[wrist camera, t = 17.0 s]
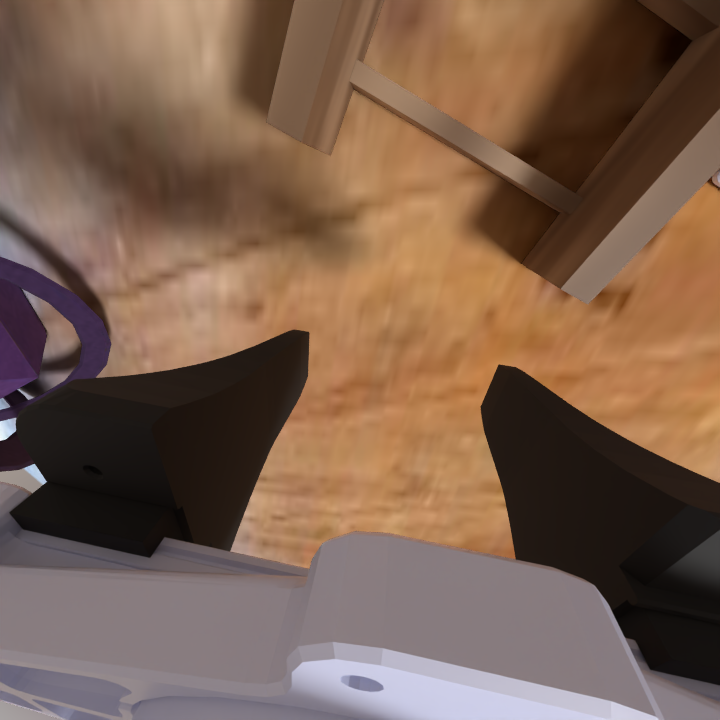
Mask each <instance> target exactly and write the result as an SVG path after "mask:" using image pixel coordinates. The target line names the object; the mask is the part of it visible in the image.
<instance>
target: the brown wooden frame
mask: <svg viewBox="0 0 720 720" xmlns="http://www.w3.org/2000/svg"><path fill="white" fill-rule="evenodd" d="M637 1H638V2H640V3H641V4H642V5H644V6H645V7H646V8H648V9H649V10H651V11H652V12H653V13H655V14H656V15H658V16H659V17H660V18H662V19H663V20H665V21H666V22H667V23H669V24H670V25H671V26H673V27H674V28H676V29H677V30H678V31H680V32H681V33H683V34H684V35H685V36H687V37H688V38H689V39H691V40H692V42H691V43H690V45H689V46H688V47H687V49H686V50H685V51H684V53H683V54H682V55H681V56H680V58H679V59H678V60H677V62H676V63H675V64H674V66H673V67H672V68H671V69H670V71H669V72H668V73H667V75H666V76H665V77H664V79H663V80H662V81H661V82H660V84H659V85H658V86H657V88H656V89H655V90H654V92H653V93H652V94H651V95H650V97H649V98H648V99H647V101H646V102H645V103H644V105H643V106H642V107H641V108H640V110H639V111H638V112H637V114H636V115H635V116H634V118H633V119H632V120H631V121H630V123H629V124H628V125H627V127H626V128H625V129H624V131H623V132H622V133H621V135H620V136H619V137H618V138H617V140H616V141H615V142H614V144H613V145H612V146H611V148H610V149H609V150H608V151H607V153H606V154H605V155H604V157H603V158H602V159H601V161H600V162H599V163H598V164H597V166H596V167H595V168H594V170H593V171H592V172H591V174H590V175H589V176H588V177H587V179H586V180H585V181H584V183H583V184H582V185H581V187H580V188H579V189H578V190H577V192H576V193H574V192H572V191H571V190H569V189H568V188H566V187H564V186H563V185H561V184H559V183H558V182H556V181H554V180H553V179H551V178H550V177H548V176H546V175H545V174H543V173H541V172H540V171H538V170H537V169H535V168H533V167H532V166H530V165H528V164H527V163H525V162H524V161H522V160H520V159H519V158H517V157H515V156H514V155H512V154H510V153H509V152H507V151H506V150H504V149H502V148H501V147H499V146H497V145H496V144H494V143H493V142H491V141H489V140H488V139H486V138H484V137H483V136H481V135H480V134H478V133H476V132H475V131H473V130H471V129H470V128H468V127H466V126H465V125H463V124H462V123H460V122H458V121H457V120H455V119H453V118H452V117H450V116H449V115H447V114H445V113H444V112H442V111H440V110H439V109H437V108H436V107H434V106H432V105H431V104H429V103H427V102H426V101H424V100H422V99H421V98H419V97H418V96H416V95H414V94H413V93H411V92H409V91H408V90H406V89H405V88H403V87H401V86H400V85H398V84H396V83H395V82H393V81H392V80H390V79H388V78H387V77H385V76H383V75H382V74H380V73H378V72H377V71H375V70H374V69H372V68H370V67H369V66H367V65H365V64H364V63H363V60H364V57H365V54H366V52H367V49H368V46H369V43H370V40H371V37H372V34H373V31H374V28H375V25H376V22H377V20H378V17H379V14H380V11H381V8H382V5H383V2H384V0H294V4H293V9H292V13H291V17H290V22H289V26H288V30H287V34H286V39H285V43H284V47H283V52H282V56H281V60H280V65H279V69H278V73H277V78H276V82H275V86H274V90H273V95H272V99H271V103H270V108H269V112H268V116H267V121H266V123H268V124H270V125H272V126H273V127H275V128H277V129H279V130H281V131H282V132H284V133H286V134H288V135H289V136H291V137H293V138H295V139H296V140H298V141H300V142H302V143H304V144H306V145H308V146H311V147H313V148H315V149H317V150H320V151H322V152H324V153H326V154H328V155H331V153H332V150H333V147H334V144H335V141H336V139H337V136H338V133H339V130H340V127H341V124H342V121H343V118H344V115H345V112H346V110H347V107H348V104H349V101H350V98H351V95H352V92H353V89H355V90H356V91H358V92H360V93H361V94H363V95H365V96H366V97H368V98H370V99H371V100H373V101H375V102H376V103H378V104H380V105H381V106H383V107H385V108H386V109H388V110H390V111H391V112H393V113H395V114H396V115H398V116H400V117H401V118H403V119H405V120H406V121H408V122H410V123H411V124H413V125H415V126H416V127H418V128H420V129H421V130H423V131H425V132H426V133H428V134H429V135H431V136H433V137H434V138H436V139H438V140H439V141H441V142H443V143H444V144H446V145H448V146H449V147H451V148H453V149H454V150H456V151H458V152H459V153H461V154H463V155H464V156H466V157H468V158H469V159H471V160H473V161H474V162H476V163H478V164H479V165H481V166H483V167H484V168H486V169H488V170H489V171H491V172H493V173H494V174H496V175H498V176H499V177H501V178H503V179H504V180H506V181H508V182H509V183H511V184H513V185H514V186H516V187H518V188H519V189H521V190H523V191H524V192H526V193H528V194H529V195H531V196H533V197H534V198H536V199H538V200H539V201H541V202H543V203H544V204H546V205H548V206H549V207H551V208H553V209H554V210H556V211H558V212H559V213H560V214H559V215H558V216H557V218H556V219H555V220H554V222H553V223H552V224H551V226H550V227H549V228H548V229H547V231H546V232H545V233H544V235H543V236H542V237H541V239H540V240H539V241H538V242H537V244H536V245H535V246H534V248H533V249H532V250H531V252H530V253H529V254H528V255H527V257H526V258H525V259H524V261H523V262H522V263H521V264H523V265H524V266H526V267H527V268H529V269H530V270H532V271H533V272H535V273H536V274H538V275H540V276H541V277H543V278H544V279H546V280H547V281H549V282H550V283H552V284H554V285H555V286H557V287H558V288H560V289H561V290H563V291H565V292H567V293H569V294H570V295H572V296H574V297H576V298H577V299H579V300H581V301H583V302H584V303H586V304H589V303H590V302H591V301H592V300H593V299H594V298H595V297H596V296H597V294H598V293H599V292H600V291H601V290H602V289H603V288H604V287H605V286H606V285H607V284H608V283H609V282H610V281H611V280H612V279H613V278H614V277H615V276H616V275H617V274H618V273H619V272H620V271H621V270H622V269H623V268H624V267H625V266H626V264H627V263H628V262H629V261H630V260H631V259H632V258H633V257H634V256H635V255H636V254H637V253H638V252H639V251H640V250H641V249H642V248H643V247H644V246H645V245H646V244H647V243H648V242H649V241H650V240H651V239H652V238H653V237H654V236H655V234H656V233H657V232H658V231H659V230H660V229H661V228H662V227H663V226H664V225H665V224H666V223H667V222H668V221H669V220H670V219H671V218H672V217H673V216H674V215H675V214H676V213H677V212H678V211H679V210H680V209H681V208H682V207H683V206H684V204H685V203H686V202H687V201H688V200H689V199H690V198H691V197H692V196H693V195H694V194H695V193H696V192H697V191H698V190H699V189H700V188H701V187H702V186H703V185H704V184H705V183H706V182H707V181H708V180H709V179H710V178H711V177H712V176H713V174H714V173H715V172H716V171H717V170H718V169H719V168H720V0H637Z"/></svg>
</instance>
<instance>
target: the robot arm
mask: <svg viewBox="0 0 720 720" xmlns="http://www.w3.org/2000/svg"><path fill="white" fill-rule="evenodd" d="M712 182H713V183H714V184H715V185H717V186H718V187H720V168H719V169H718V170H717V171H716V172H715V173H714V174H713V176H712ZM308 358H309V332H306V331H300V330H291V331H288V332H286V333H283V334H281V335H279V336H276V337H274V338H272V339H270V340H267V341H265V342H263V343H261V344H258V345H256V346H253V347H251V348H248V349H245V350H243V351H240V352H238V353H235V354H232V355H229V356H226V357H223V358H220V359H216V360H213V361H209V362H205V363H201V364H197V365H192V366H187V367H182V368H178V369H173V370H167V371H160V372H154V373H146V374H138V375H129V376H118V377H103V378H89V379H75V380H72V381H70V382H69V383H67V384H65V385H63V386H62V387H60V388H58V389H56V390H55V391H53V392H51V393H49V394H48V395H46V396H44V397H42V398H41V399H39V400H37V401H35V402H34V403H32V404H30V405H28V406H27V407H25V408H24V409H23V410H21V411H20V412H19V414H18V417H17V419H16V430H17V435H18V437H19V439H20V441H21V443H22V445H23V447H24V448H25V450H26V451H27V453H28V454H29V456H30V457H31V459H32V460H33V462H34V463H35V465H36V466H37V468H38V469H39V471H40V472H41V474H42V475H43V477H44V478H45V480H46V481H47V482H46V483H45V484H44V485H42V486H41V487H40V488H39V489H38V490H36V491H35V492H34V493H33V494H32V493H31V492H29V491H28V490H26V489H24V488H22V487H20V486H17V485H13V484H9V483H4V482H0V701H3V702H7V703H9V704H13V705H16V706H19V707H23V708H26V709H29V710H33V711H36V712H39V713H43V714H46V715H49V716H52V717H55V718H59V719H62V720H720V483H718V482H716V481H713V480H711V479H709V478H706V477H704V476H702V475H699V474H697V473H695V472H693V471H690V470H688V469H686V468H684V467H682V466H679V465H677V464H675V463H673V462H671V461H669V460H667V459H665V458H663V457H661V456H659V455H657V454H655V453H653V452H650V451H648V450H646V449H644V448H642V447H641V446H639V445H637V444H635V443H633V442H631V441H629V440H627V439H626V438H624V437H622V436H620V435H618V434H617V433H615V432H613V431H611V430H610V429H608V428H606V427H604V426H603V425H601V424H599V423H598V422H596V421H595V420H593V419H591V418H590V417H588V416H587V415H585V414H584V413H582V412H581V411H579V410H578V409H576V408H575V407H573V406H572V405H570V404H569V403H567V402H566V401H564V400H563V399H562V398H560V397H559V396H557V395H556V394H555V393H553V392H552V391H550V390H549V389H548V388H546V387H545V386H543V385H542V384H541V383H539V382H538V381H536V380H535V379H534V378H532V377H531V376H529V375H528V374H526V373H525V372H523V371H522V370H520V369H518V368H516V367H511V366H505V365H498V367H497V370H496V372H495V374H494V377H493V379H492V382H491V384H490V386H489V389H488V391H487V393H486V396H485V398H484V400H483V403H482V405H481V414H482V421H483V427H484V432H485V435H486V438H487V442H488V445H489V448H490V451H491V454H492V457H493V460H494V463H495V467H496V470H497V473H498V476H499V479H500V482H501V485H502V489H503V493H504V497H505V502H506V507H507V512H508V517H509V522H510V527H511V533H512V539H513V545H514V551H515V557H516V560H515V559H511V558H506V557H501V556H496V555H491V554H487V553H482V552H477V551H472V550H467V549H463V548H458V547H453V546H448V545H443V544H439V543H434V542H429V541H424V540H419V539H414V538H410V537H405V536H400V535H395V534H390V533H379V532H361V531H354V532H350V533H347V534H344V535H341V536H338V537H335V538H332V539H329V540H327V541H325V542H324V543H322V545H321V546H320V548H319V549H318V551H317V552H316V554H315V555H314V557H313V558H312V561H311V565H310V569H308V568H303V567H298V566H294V565H289V564H285V563H280V562H276V561H271V560H266V559H262V558H257V557H253V556H248V555H244V554H239V553H234V552H230V550H231V547H232V545H233V542H234V539H235V536H236V534H237V531H238V528H239V526H240V523H241V520H242V518H243V515H244V512H245V510H246V507H247V505H248V502H249V499H250V497H251V495H252V492H253V490H254V487H255V485H256V482H257V480H258V477H259V475H260V473H261V470H262V468H263V466H264V463H265V461H266V459H267V456H268V454H269V452H270V449H271V448H272V446H273V444H274V442H275V440H276V438H277V436H278V434H279V433H280V431H281V429H282V427H283V426H284V424H285V422H286V420H287V419H288V417H289V415H290V413H291V412H292V410H293V408H294V406H295V405H296V403H297V401H298V399H299V397H300V395H301V393H302V390H303V388H304V385H305V383H306V380H307V377H308Z"/></svg>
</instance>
